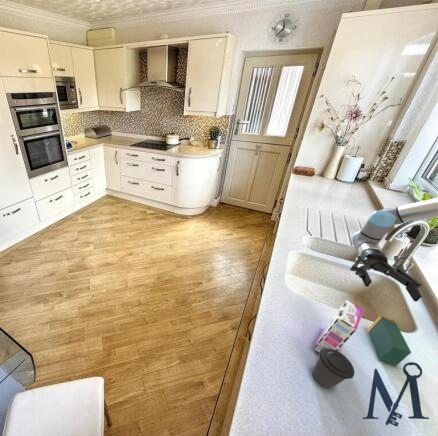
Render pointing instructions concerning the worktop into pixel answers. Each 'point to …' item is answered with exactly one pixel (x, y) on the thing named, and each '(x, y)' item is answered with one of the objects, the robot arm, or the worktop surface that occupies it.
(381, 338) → the carton
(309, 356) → the worktop surface
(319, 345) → the candy bar box
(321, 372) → the coffee cup
